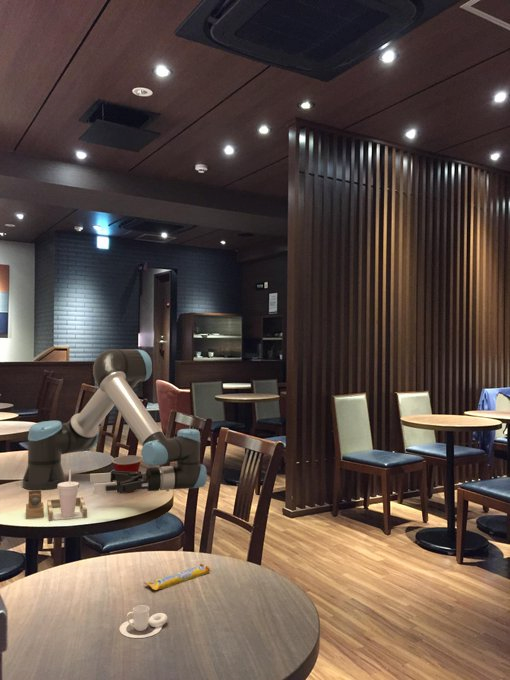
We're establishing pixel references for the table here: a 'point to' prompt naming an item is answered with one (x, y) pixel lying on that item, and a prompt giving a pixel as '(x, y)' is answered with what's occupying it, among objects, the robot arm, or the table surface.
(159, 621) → the teacup and saucer
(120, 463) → the plastic cup
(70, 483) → the smoothie
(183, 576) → the candy bar
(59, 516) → the mat
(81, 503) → the bay
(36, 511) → the winch
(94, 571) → the table surface
